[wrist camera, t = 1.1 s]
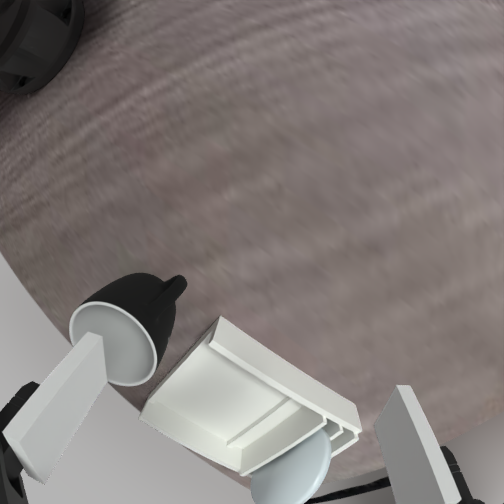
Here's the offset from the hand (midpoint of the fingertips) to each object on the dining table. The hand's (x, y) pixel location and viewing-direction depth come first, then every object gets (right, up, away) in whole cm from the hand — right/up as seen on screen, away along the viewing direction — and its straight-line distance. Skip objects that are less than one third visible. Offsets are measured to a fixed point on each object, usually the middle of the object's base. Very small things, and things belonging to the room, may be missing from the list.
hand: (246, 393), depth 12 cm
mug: (-10, +2, +22) cm, 24 cm away
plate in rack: (+5, -18, +26) cm, 32 cm away
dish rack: (0, -14, +25) cm, 29 cm away
